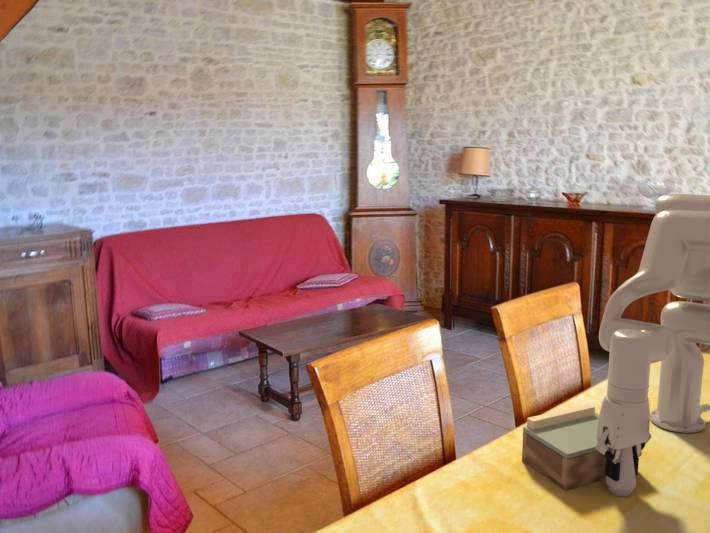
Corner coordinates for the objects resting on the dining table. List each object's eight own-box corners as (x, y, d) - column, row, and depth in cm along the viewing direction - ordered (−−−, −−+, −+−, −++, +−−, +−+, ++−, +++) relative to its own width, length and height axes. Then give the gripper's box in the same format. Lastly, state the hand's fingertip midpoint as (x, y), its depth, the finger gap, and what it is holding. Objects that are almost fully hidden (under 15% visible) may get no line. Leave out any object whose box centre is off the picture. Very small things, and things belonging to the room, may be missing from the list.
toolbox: (589, 443, 153) (591, 415, 152) (636, 469, 141) (638, 440, 139) (521, 460, 145) (523, 432, 144) (565, 490, 133) (566, 459, 131)
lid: (591, 414, 152) (592, 403, 151) (638, 439, 139) (639, 426, 139) (523, 431, 144) (523, 418, 143) (566, 458, 131) (567, 445, 131)
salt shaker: (637, 500, 129) (642, 440, 126) (607, 497, 130) (612, 438, 127) (631, 485, 134) (636, 427, 132) (602, 482, 135) (606, 425, 133)
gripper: (643, 378, 135) (636, 458, 138) (581, 392, 128) (576, 475, 131) (673, 391, 128) (666, 474, 131) (609, 406, 121) (603, 493, 125)
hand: (621, 474), depth 131 cm, fingers open, 4 cm apart
